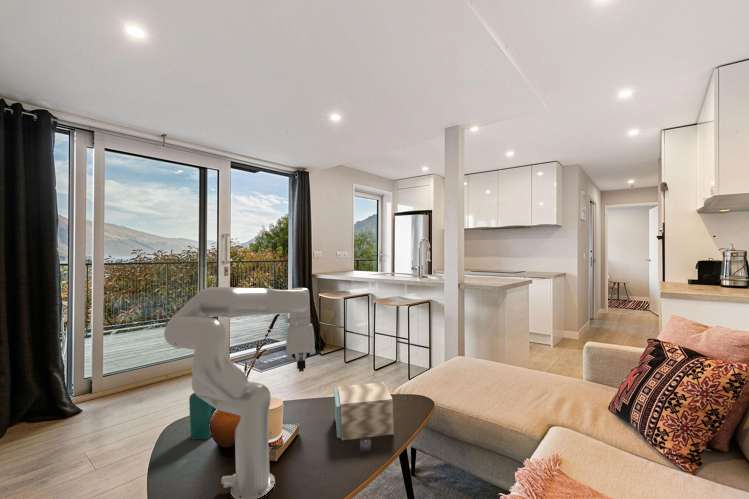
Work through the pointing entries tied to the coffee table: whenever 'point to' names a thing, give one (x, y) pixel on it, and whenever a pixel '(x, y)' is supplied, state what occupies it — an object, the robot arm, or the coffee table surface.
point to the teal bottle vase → (200, 417)
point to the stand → (365, 444)
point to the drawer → (337, 413)
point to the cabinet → (365, 410)
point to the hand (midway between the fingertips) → (301, 370)
